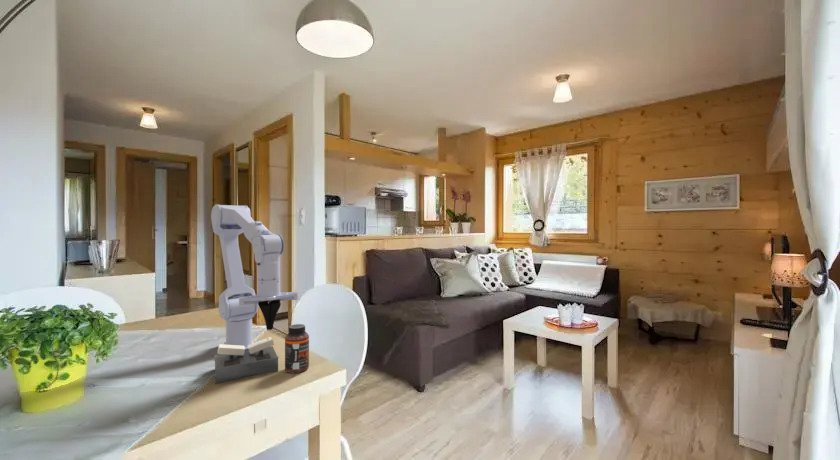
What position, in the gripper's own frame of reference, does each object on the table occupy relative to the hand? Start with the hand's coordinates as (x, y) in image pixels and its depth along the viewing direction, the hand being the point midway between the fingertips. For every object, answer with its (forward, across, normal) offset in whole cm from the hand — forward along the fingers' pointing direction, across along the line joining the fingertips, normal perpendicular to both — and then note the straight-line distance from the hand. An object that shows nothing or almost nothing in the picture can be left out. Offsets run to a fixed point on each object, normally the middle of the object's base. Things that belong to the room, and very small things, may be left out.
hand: (269, 328), depth 96 cm
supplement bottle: (+10, +6, -8) cm, 14 cm away
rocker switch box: (+9, -6, -2) cm, 11 cm away
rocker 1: (+4, -9, 0) cm, 10 cm away
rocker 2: (+4, -2, 0) cm, 5 cm away
